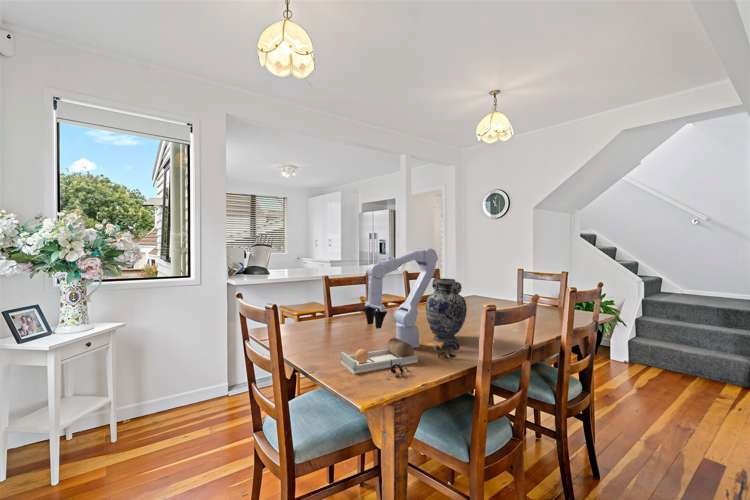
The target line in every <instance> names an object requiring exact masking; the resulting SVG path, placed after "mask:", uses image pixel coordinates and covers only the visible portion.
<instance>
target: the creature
mask: <svg viewBox="0 0 750 500" xmlns="http://www.w3.org/2000/svg"><path fill="white" fill-rule="evenodd" d="M390 360H391V359H390ZM400 364H401V363H399V365H398V364H395V365H392V360H391V367H389V368H390V372H391V374H393V375H396V378H399V376H398V372H397V370H396V367H398V369H399V371H400V374H401V377H402V378H404V379H406V377H405V376H404V375H403V373H405V370H406V371H407V373H409V372H410V373H412V371H411V370H410V369H408V368H407V367H403V366H402V365H400ZM403 364H404V363H403Z"/></svg>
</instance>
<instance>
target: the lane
mask: <svg viewBox="0 0 750 500" xmlns="http://www.w3.org/2000/svg"><path fill="white" fill-rule="evenodd" d="M367 352H368V354H369V358H368V360H367V361H366V362H365V363H359V362H357V361H356V359H355V354H356V353H353V354H349V355H348V354H347V353H346V352H344V351H342V352H340V364H342V365H343V366H344V367H345V368H346V369H347V370H349V371H350V372H351V373H352V374H355V375H356V374H361V373H366V372H373V371H377V370H383V369H388V368H391V360H392V365H395V364H398V365H399V363H401V364H400V365H401V366H404V365H405V366H406V365H409V364H415V363H418V354H413V355H412V356H406V357H401V358H399V357H398V356H396V355H394V354H392V353H391V352H389V351H388V348H386V349H380V350H374V351H367ZM390 359H391V360H390ZM403 363H404V364H403Z"/></svg>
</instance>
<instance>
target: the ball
mask: <svg viewBox="0 0 750 500" xmlns="http://www.w3.org/2000/svg"><path fill="white" fill-rule="evenodd" d="M368 352H369V351H367V350H366V349H365V348H360V349H359V348H358V350H357V351H356V352H355V353H354V354H355V359H356V361H357V362H359V363H365V362H366V361H367V360H368V358H369V354H368Z"/></svg>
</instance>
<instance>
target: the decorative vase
mask: <svg viewBox="0 0 750 500" xmlns="http://www.w3.org/2000/svg"><path fill="white" fill-rule="evenodd" d="M431 284H432V286H431V287H432V288H433V289H434V291H433V292H432V293H431V294H430V295H428V297H427V299H426V302H425V316H426V320H427V323H428V325H429V329H430V331H431V333H432V334H433V335H434V336H433V339H434V340H435V341H437V342H439V343H446V342H450V341H455V342H457V341H458V338H457V336H455V335H456V334H458V333H460V331H461V329H462V327H463V326H464V323H465V321H466V318H467V310H468V309H467V302H466V299H465V298H464V297H463V295H461V294H460V293H461V292H462V289H463V288H462V284H461V283H460V282H459V281H456V279H454V278H434V279H433V278H432V283H431Z"/></svg>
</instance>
